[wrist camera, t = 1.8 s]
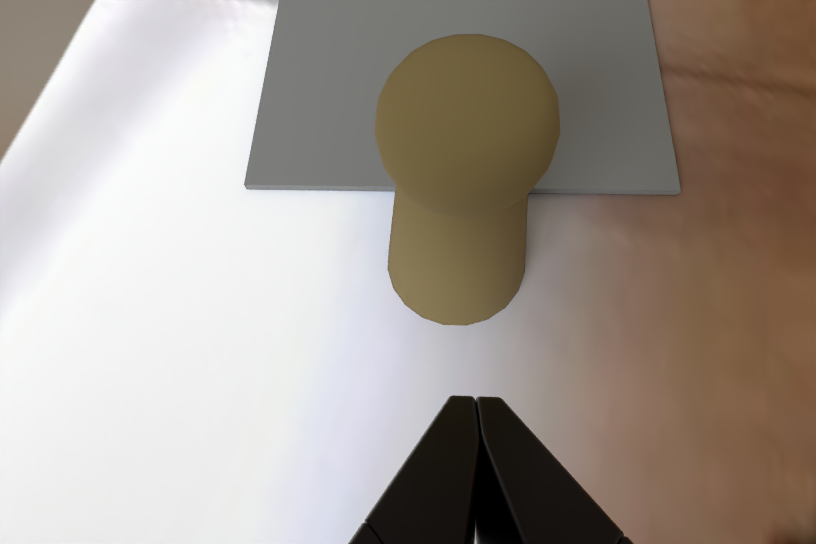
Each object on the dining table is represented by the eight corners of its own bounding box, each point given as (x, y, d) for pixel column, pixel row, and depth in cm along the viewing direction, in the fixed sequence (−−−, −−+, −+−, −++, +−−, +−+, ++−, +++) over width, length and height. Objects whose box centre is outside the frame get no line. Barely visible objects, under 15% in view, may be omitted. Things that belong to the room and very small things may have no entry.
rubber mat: (677, 194, 25) (680, 190, 24) (246, 189, 26) (244, 184, 26) (635, -48, 31) (637, -55, 31) (290, -43, 32) (288, -49, 32)
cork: (359, 258, 24) (304, 83, 14) (456, 177, 26) (468, -35, 15) (454, 355, 22) (469, 231, 12) (553, 261, 24) (640, 82, 14)
